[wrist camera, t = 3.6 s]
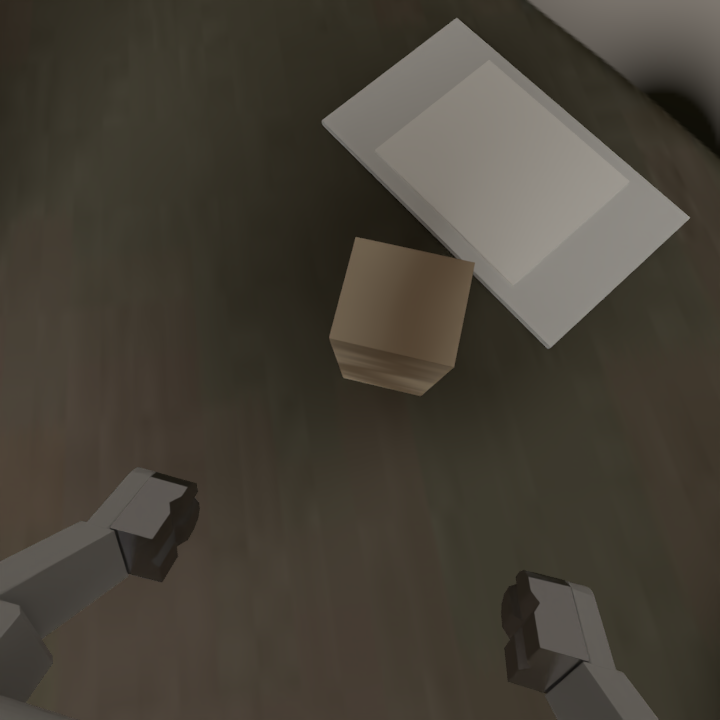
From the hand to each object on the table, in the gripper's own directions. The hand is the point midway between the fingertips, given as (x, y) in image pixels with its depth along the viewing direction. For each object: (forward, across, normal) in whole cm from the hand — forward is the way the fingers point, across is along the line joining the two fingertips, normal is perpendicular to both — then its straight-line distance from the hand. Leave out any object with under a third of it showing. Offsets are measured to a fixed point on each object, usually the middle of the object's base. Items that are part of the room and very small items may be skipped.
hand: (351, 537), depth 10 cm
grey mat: (+23, -4, -6) cm, 24 cm away
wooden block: (+14, 0, +3) cm, 14 cm away
